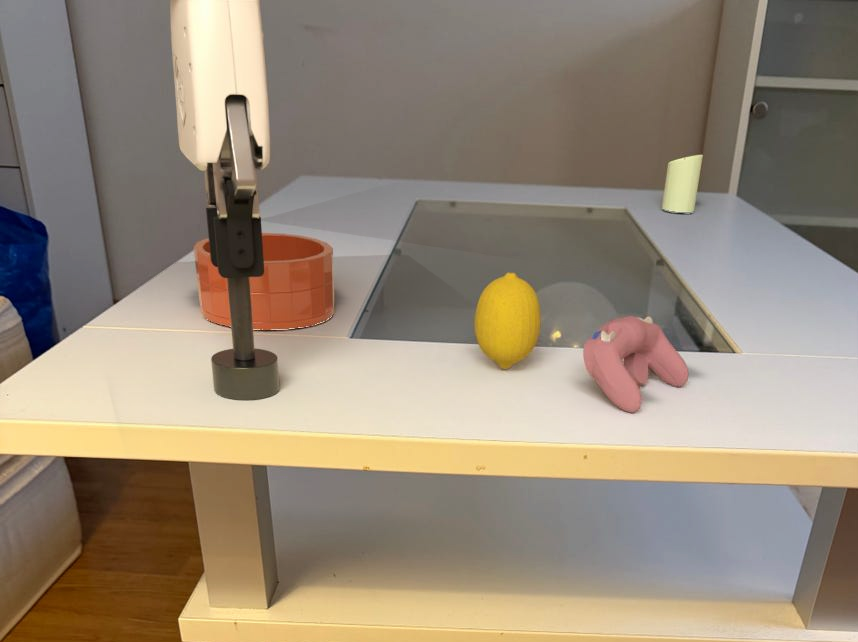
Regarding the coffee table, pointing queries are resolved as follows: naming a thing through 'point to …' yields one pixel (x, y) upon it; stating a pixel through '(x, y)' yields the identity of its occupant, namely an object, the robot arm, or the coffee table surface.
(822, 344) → the coffee table surface
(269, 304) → the bowl
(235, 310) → the ring toss peg
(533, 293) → the lemon
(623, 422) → the coffee table surface
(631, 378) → the video game controller
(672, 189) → the candle
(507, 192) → the coffee table surface
